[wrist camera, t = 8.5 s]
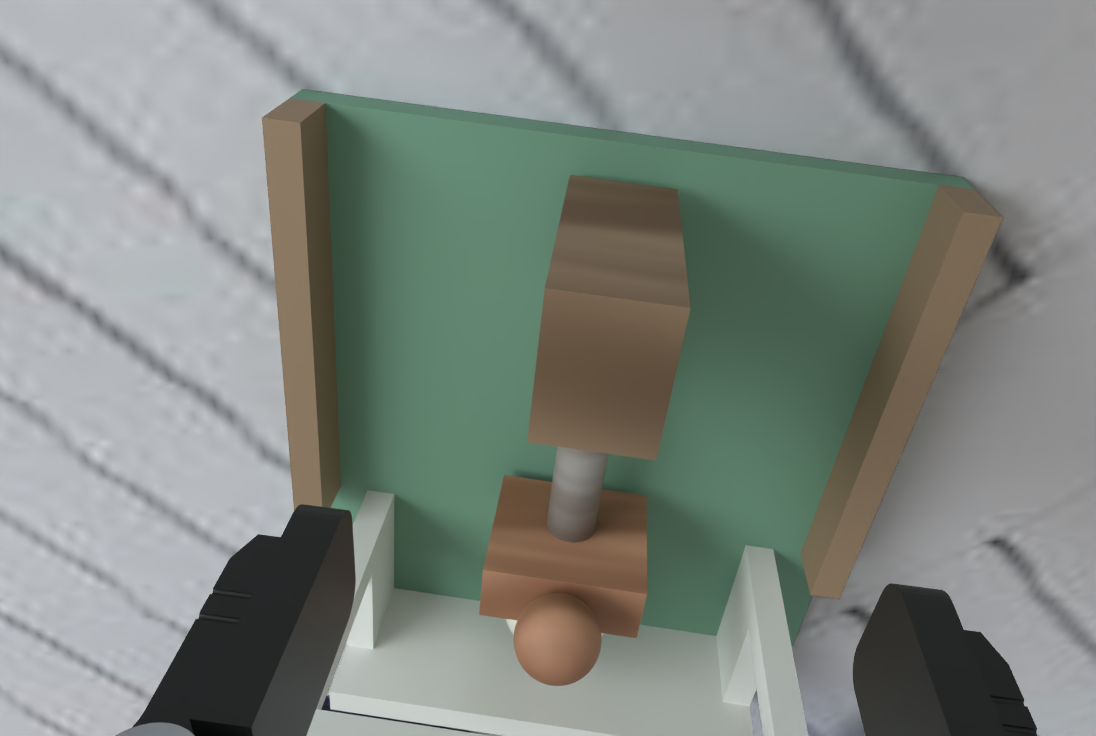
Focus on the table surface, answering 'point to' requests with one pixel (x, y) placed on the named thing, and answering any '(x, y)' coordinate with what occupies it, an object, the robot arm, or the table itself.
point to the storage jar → (327, 708)
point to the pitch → (669, 482)
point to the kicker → (591, 428)
